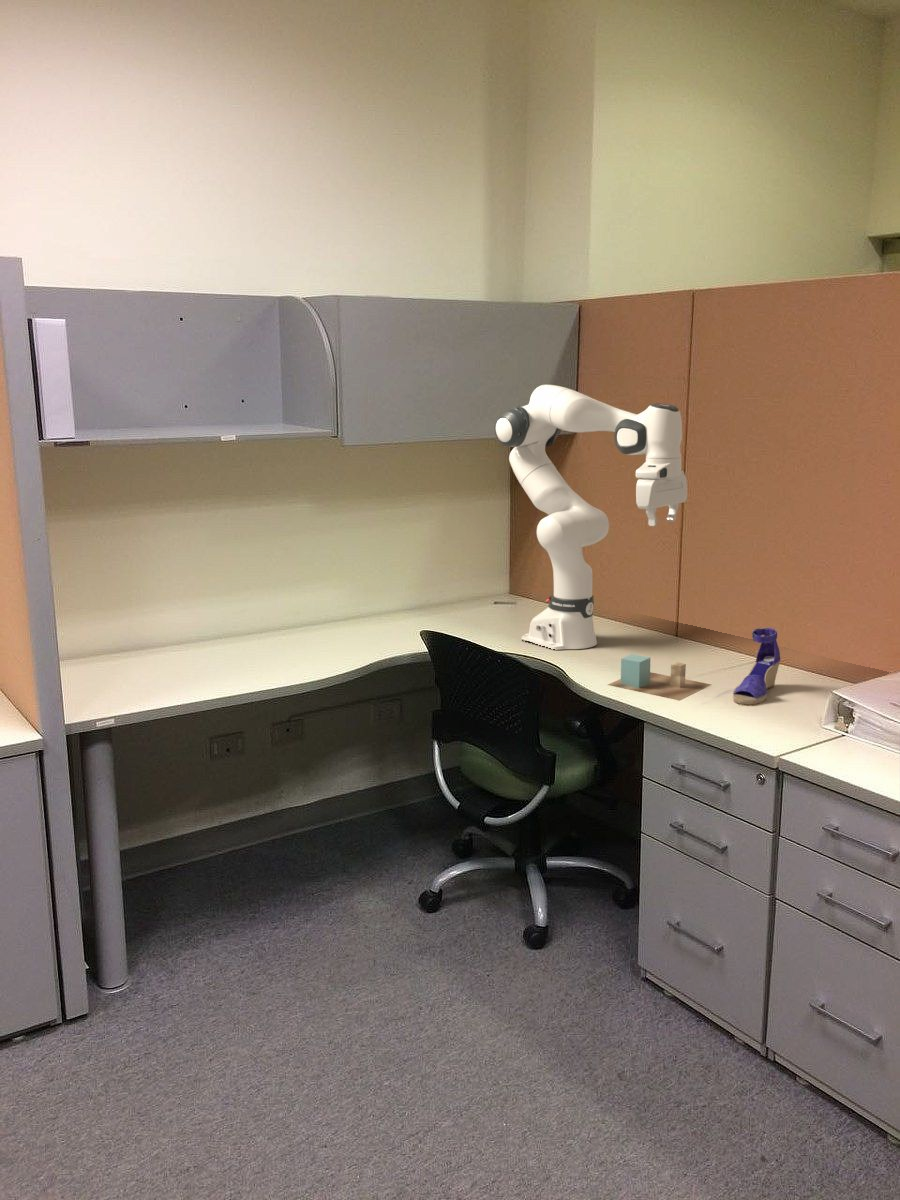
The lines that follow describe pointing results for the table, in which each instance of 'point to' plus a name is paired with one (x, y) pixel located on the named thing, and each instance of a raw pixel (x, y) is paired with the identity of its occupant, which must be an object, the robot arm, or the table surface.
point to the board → (665, 687)
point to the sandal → (760, 669)
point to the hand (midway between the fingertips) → (662, 523)
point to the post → (678, 674)
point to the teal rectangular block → (635, 671)
